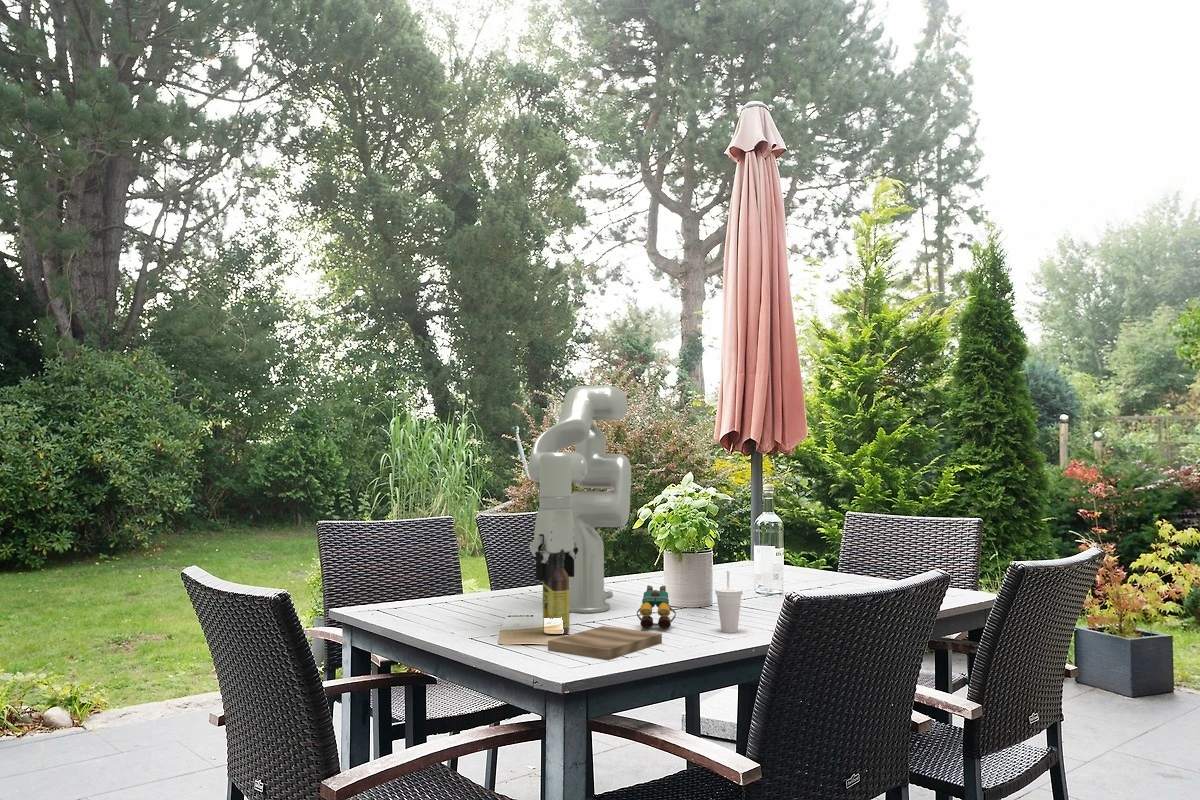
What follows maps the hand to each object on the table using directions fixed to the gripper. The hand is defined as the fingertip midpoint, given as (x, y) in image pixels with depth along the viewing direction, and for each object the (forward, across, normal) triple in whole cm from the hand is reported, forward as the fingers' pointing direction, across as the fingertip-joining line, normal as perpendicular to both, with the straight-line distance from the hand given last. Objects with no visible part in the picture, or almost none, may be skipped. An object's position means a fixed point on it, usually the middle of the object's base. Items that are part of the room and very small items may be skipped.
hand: (555, 578), depth 211 cm
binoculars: (+13, -19, +16) cm, 28 cm away
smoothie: (+13, -26, +32) cm, 43 cm away
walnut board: (+13, +4, +18) cm, 22 cm away
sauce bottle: (+13, -1, 0) cm, 13 cm away
